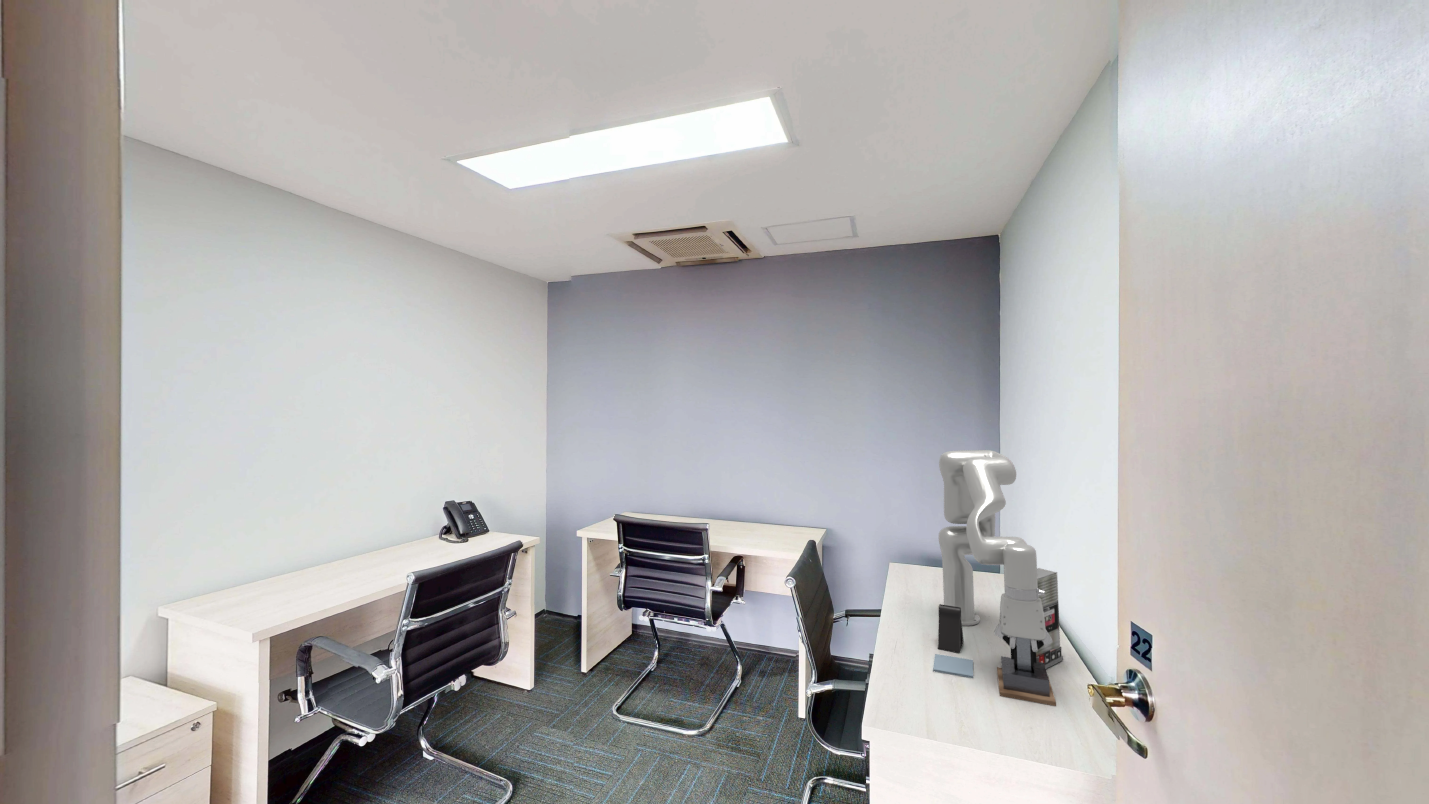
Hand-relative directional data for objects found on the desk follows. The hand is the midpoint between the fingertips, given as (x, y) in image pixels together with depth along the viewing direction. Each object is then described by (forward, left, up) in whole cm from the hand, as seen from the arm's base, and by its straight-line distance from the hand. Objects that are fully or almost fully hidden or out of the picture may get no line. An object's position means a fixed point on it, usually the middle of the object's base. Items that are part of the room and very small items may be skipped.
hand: (1023, 662), depth 137 cm
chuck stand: (0, 0, -6) cm, 6 cm away
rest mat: (-5, -17, -6) cm, 19 cm away
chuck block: (0, 0, -6) cm, 6 cm away
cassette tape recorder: (-16, +5, -7) cm, 18 cm away
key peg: (0, 0, -4) cm, 4 cm away
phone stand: (-19, -18, -7) cm, 27 cm away
